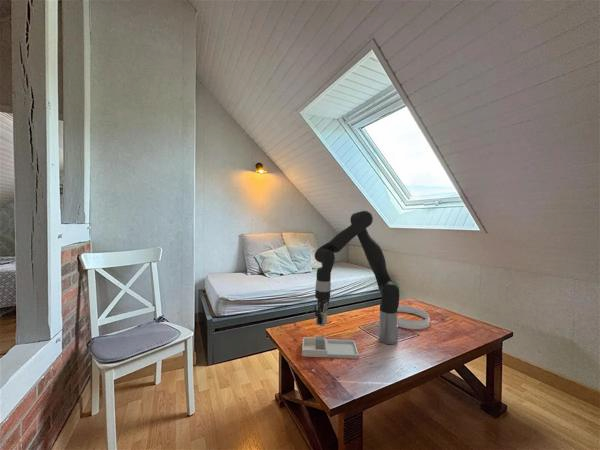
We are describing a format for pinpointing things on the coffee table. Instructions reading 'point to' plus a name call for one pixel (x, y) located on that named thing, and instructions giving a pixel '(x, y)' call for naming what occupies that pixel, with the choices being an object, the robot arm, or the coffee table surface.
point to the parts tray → (341, 348)
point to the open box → (313, 348)
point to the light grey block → (323, 319)
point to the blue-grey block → (319, 343)
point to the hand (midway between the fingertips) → (321, 322)
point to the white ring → (409, 323)
